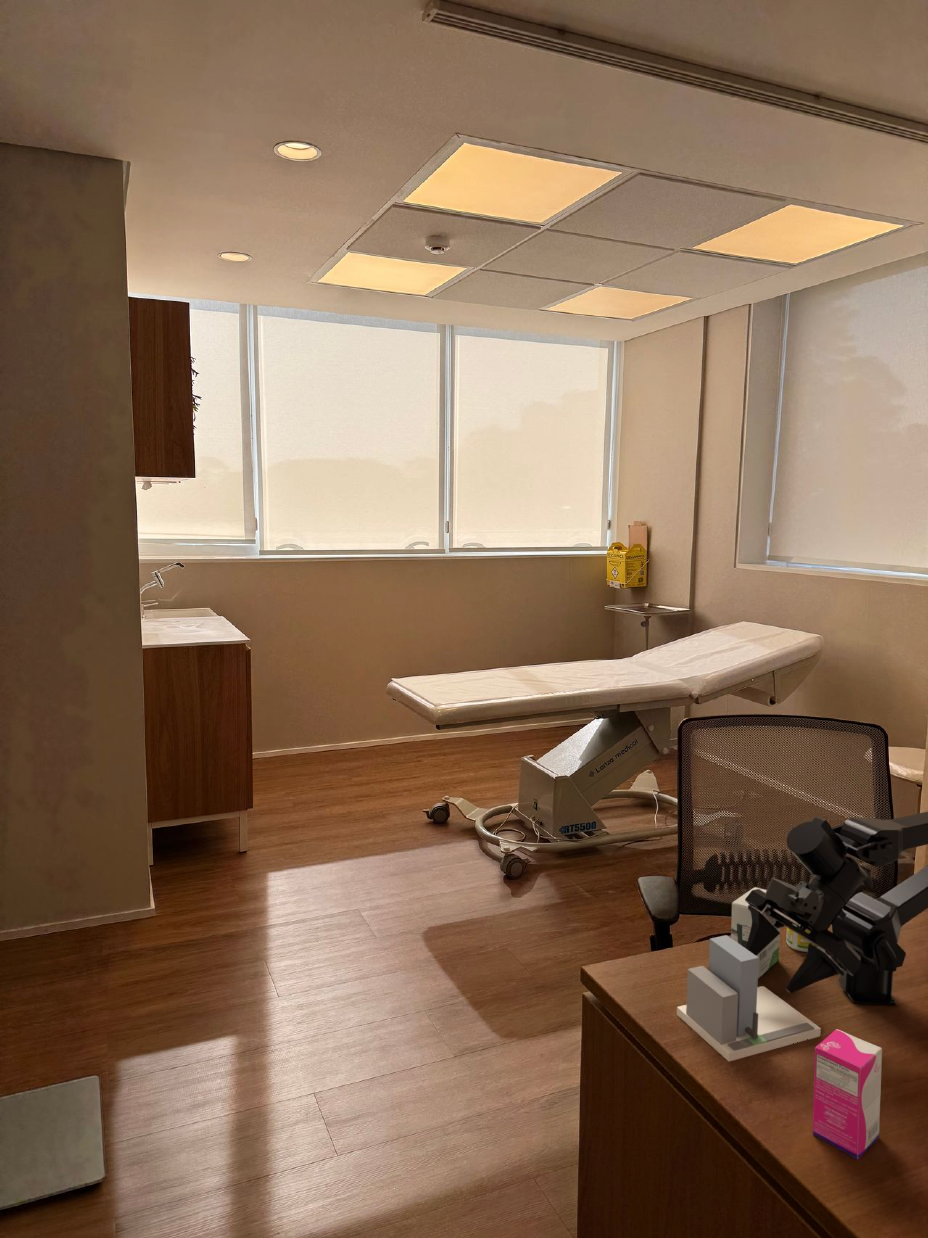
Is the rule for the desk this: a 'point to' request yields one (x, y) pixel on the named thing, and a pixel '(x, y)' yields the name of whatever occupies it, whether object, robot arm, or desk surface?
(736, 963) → the block
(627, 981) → the desk surface
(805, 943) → the supplement bottle
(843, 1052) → the supplement box
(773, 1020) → the base
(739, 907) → the ink box
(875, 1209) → the desk surface
